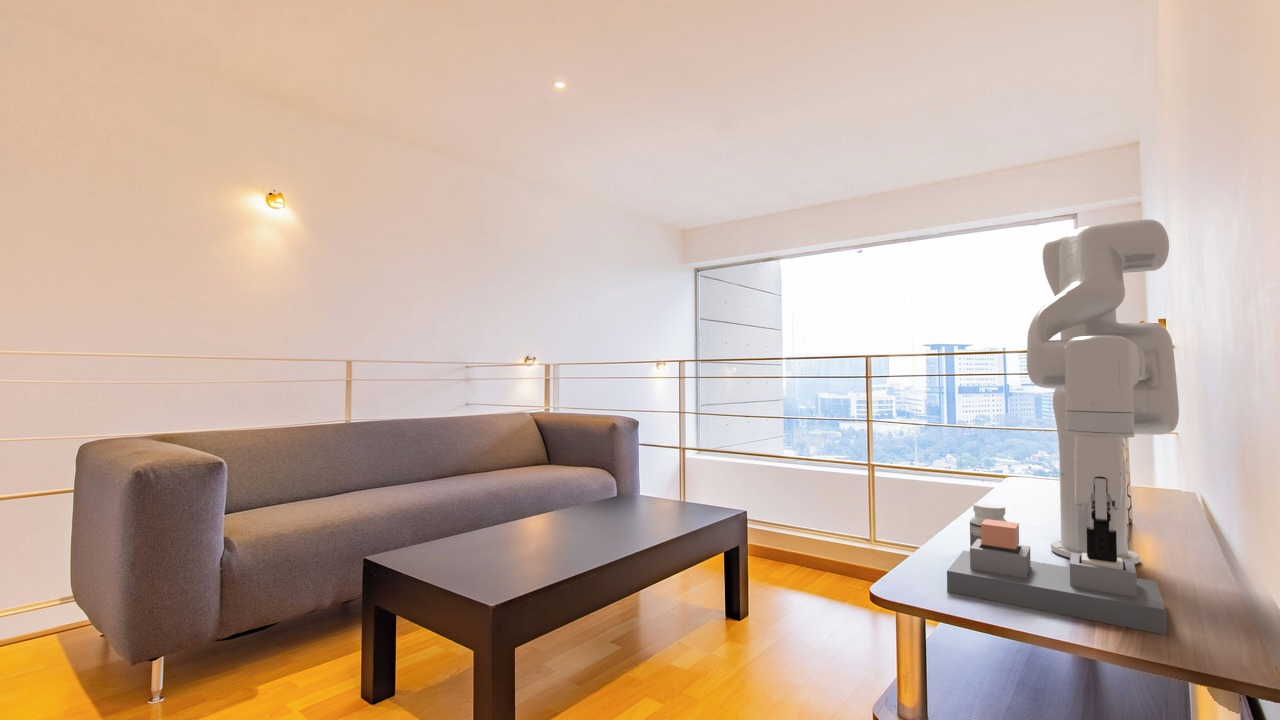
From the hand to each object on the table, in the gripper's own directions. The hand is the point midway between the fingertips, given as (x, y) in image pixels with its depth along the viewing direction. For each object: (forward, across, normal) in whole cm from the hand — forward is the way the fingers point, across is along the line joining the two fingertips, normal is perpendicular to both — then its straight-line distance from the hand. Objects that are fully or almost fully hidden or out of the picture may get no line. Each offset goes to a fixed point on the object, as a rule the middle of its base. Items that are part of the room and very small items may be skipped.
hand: (1101, 558), depth 81 cm
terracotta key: (0, 0, -12) cm, 12 cm away
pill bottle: (+7, -13, -15) cm, 21 cm away
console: (+6, 0, -6) cm, 9 cm away
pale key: (+3, 0, 0) cm, 3 cm away
